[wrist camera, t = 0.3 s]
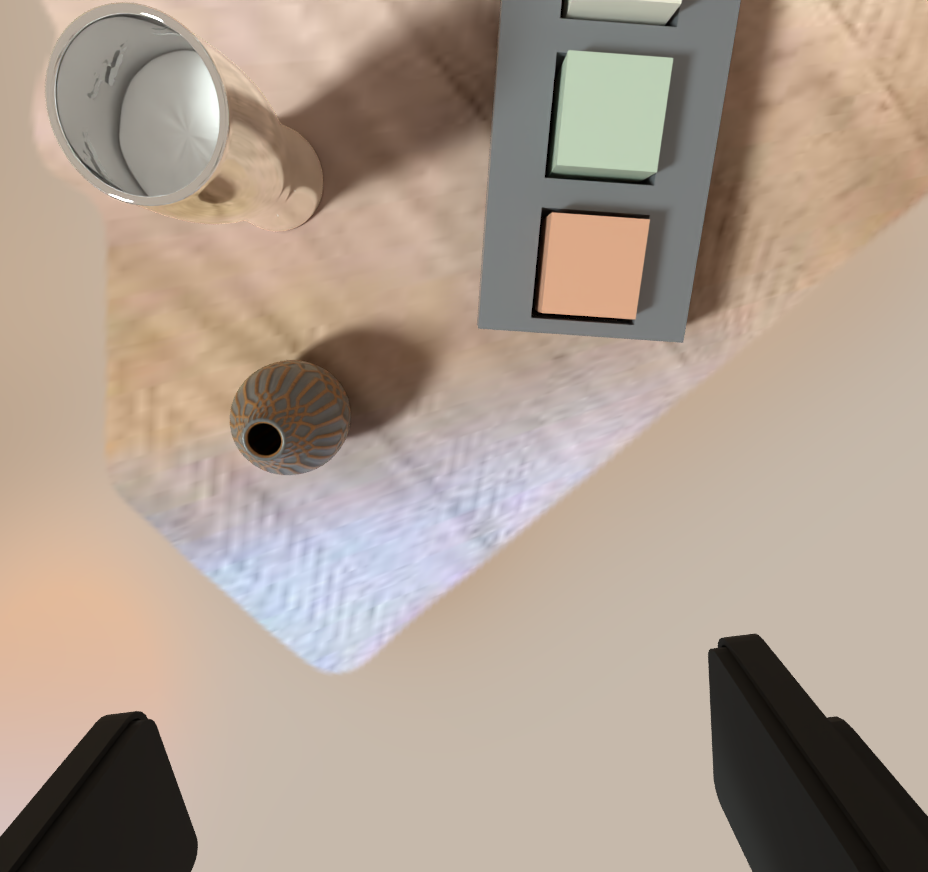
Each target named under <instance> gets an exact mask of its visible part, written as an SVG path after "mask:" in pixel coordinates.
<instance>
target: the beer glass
mask: <svg viewBox="0 0 928 872" xmlns="http://www.w3.org/2000/svg"><path fill="white" fill-rule="evenodd" d="M45 99H46V107H47V112H48V117H49V121H50V124H51V127H52V130H53V132H54V135H55V137H56V140H57V142H58V144H59V146H60V147H61V149H62V151H63V153H64V154H65V156H66V157H67V159H68V160H69V161H70V163H71V164H72V165H73V166H74V168H75V169H76V170H77V171H78V172H79V173H80V174H81V175H82V176H83V177H84V178H85V179H86V180H87V181H88V182H89V183H91V184H92V185H93V186H95V187H96V188H97V189H99V190H100V191H102V192H104V193H105V194H107V195H109V196H111V197H113V198H115V199H118V200H120V201H123V202H126V203H130V204H134V205H137V206H139V207H142V208H144V209H147V210H150V211H153V212H156V213H158V214H161V215H164V216H168V217H171V218H175V219H179V220H183V221H187V222H194V223H202V224H229V223H237V222H241V221H247V222H249V223H250V224H252V225H254V226H256V227H258V228H261V229H264V230H268V231H275V232H280V231H287V230H291V229H294V228H296V227H298V226H300V225H302V224H303V223H304V222H306V221H307V220H308V219H309V218H310V217H311V216H312V215H313V213H314V212H315V210H316V209H317V207H318V205H319V203H320V200H321V197H322V192H323V173H322V168H321V164H320V161H319V159H318V156H317V154H316V152H315V151H314V149H313V148H312V146H311V145H310V144H309V142H308V141H307V140H306V139H305V138H304V137H303V136H302V135H300V134H299V133H298V132H296V131H295V130H293V129H291V128H289V127H287V126H285V125H282V124H281V123H280V121H279V119H278V117H277V115H276V113H275V111H274V110H273V108H272V106H271V105H270V103H269V102H268V100H267V99H266V97H265V96H264V95H263V93H262V92H261V90H260V89H259V88H258V87H257V86H256V84H255V83H254V82H253V81H252V80H251V79H250V78H249V77H248V76H247V75H246V74H245V73H244V72H243V71H242V70H241V69H240V68H239V67H238V66H237V65H236V64H235V63H233V62H232V61H231V60H230V59H229V58H227V57H226V56H225V55H224V54H223V53H221V52H220V51H219V50H217V49H216V48H215V47H213V46H212V45H210V44H209V43H208V42H206V41H205V40H203V39H202V38H200V37H199V36H197V35H196V34H194V33H193V32H191V31H190V30H189V29H188V28H186V27H185V26H184V25H183V24H182V23H180V22H179V21H177V20H176V19H174V18H173V17H171V16H170V15H168V14H166V13H164V12H162V11H160V10H157V9H155V8H152V7H149V6H146V5H142V4H136V3H127V2H119V3H110V4H105V5H101V6H98V7H95V8H93V9H91V10H89V11H87V12H85V13H83V14H82V15H80V16H79V17H78V18H76V19H75V20H74V21H73V22H72V23H71V24H70V25H69V26H68V27H67V28H66V29H65V30H64V32H63V33H62V34H61V36H60V37H59V39H58V40H57V42H56V44H55V46H54V48H53V51H52V53H51V56H50V59H49V62H48V66H47V71H46V79H45Z"/></svg>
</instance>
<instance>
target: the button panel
mask: <svg viewBox="0 0 928 872" xmlns="http://www.w3.org/2000/svg"><path fill="white" fill-rule="evenodd" d="M740 2H741V0H682V2H681V5H680V6H679V7H678V9H677V10H676V11H675V12H674V14H673V15H672V16H671V18H670V19H669V20H668V22H667V23H666V24H665V25H664V26H655V25H642V24H629V23H615V22H602V21H589V20H575V19H562V18H560V13H561V3H562V0H501V2H500V16H499V30H498V43H497V57H496V71H495V85H494V98H493V112H492V126H491V140H490V154H489V167H488V181H487V195H486V209H485V223H484V236H483V250H482V264H481V278H480V292H479V305H478V319H477V325H478V328H479V329H494V330H508V331H523V332H537V333H551V334H566V335H580V336H595V337H609V338H624V339H638V340H653V341H667V342H681V343H683V340H684V334H685V329H686V323H687V317H688V311H689V305H690V299H691V293H692V287H693V281H694V275H695V269H696V263H697V257H698V251H699V245H700V239H701V234H702V228H703V222H704V216H705V210H706V204H707V198H708V192H709V186H710V180H711V174H712V168H713V162H714V156H715V150H716V144H717V139H718V133H719V127H720V121H721V115H722V109H723V103H724V97H725V91H726V85H727V79H728V73H729V67H730V61H731V55H732V49H733V44H734V38H735V32H736V26H737V20H738V14H739V8H740ZM568 50H574V51H588V52H601V53H614V54H628V55H641V56H655V57H668V58H673V64H672V71H671V78H670V85H669V92H668V99H667V106H666V112H665V119H664V126H663V133H662V140H661V147H660V154H659V161H658V168H657V172H656V173H655V174H653V175H651V176H649V177H648V178H646V179H644V180H642V181H641V182H639V183H637V184H624V183H610V182H596V181H582V180H568V179H554V178H545V168H546V157H547V147H548V137H549V126H550V116H551V106H552V96H553V85H554V79H556V78H557V75H558V73H559V71H560V68H561V66H562V64H563V61H564V59H565V57H566V55H567V52H568ZM552 212H553V213H567V214H581V215H595V216H609V217H623V218H637V219H650V223H649V230H648V237H647V244H646V251H645V257H644V264H643V271H642V278H641V285H640V292H639V299H638V306H637V313H636V319H622V318H617V320H604V319H589V318H575V317H560V316H546V315H532V314H531V312H532V302H533V292H534V281H535V271H536V261H537V250H538V240H539V230H540V219H541V216H548V215H549V214H551V213H552Z"/></svg>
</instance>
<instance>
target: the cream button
mask: <svg viewBox="0 0 928 872" xmlns="http://www.w3.org/2000/svg"><path fill="white" fill-rule="evenodd" d="M681 2H682V0H564V5H563V15H562V19H575V20H589V21H602V22H615V23H629V24H642V25H655V26H664V25H665V24H666V23H667V22H668V20H669V19H670V18H671V16H672V15H673V14H674V12H675V11H676V10H677V9H678V7H679V6H680V5H681Z"/></svg>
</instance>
